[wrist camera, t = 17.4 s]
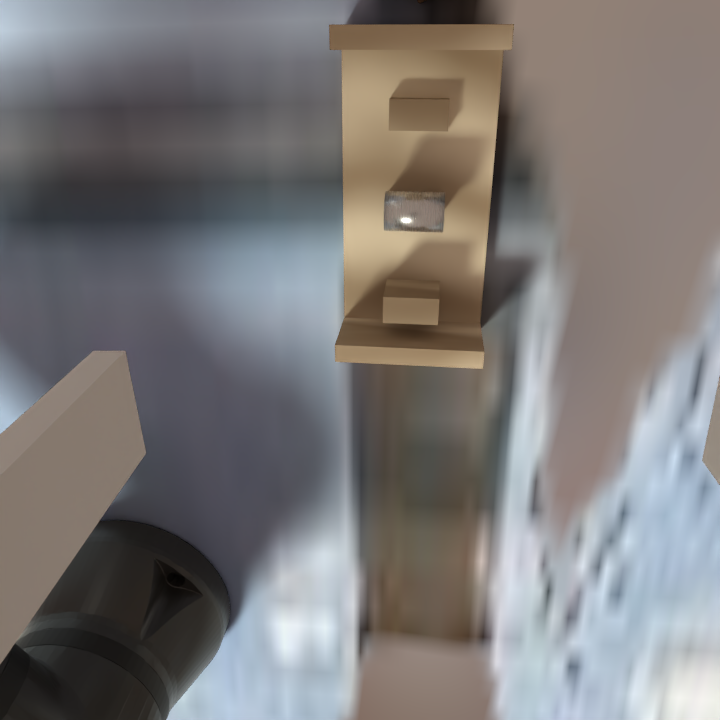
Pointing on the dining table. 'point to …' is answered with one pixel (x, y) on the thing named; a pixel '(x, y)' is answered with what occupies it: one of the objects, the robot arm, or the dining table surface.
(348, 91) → the birch cradle
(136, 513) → the dining table surface
